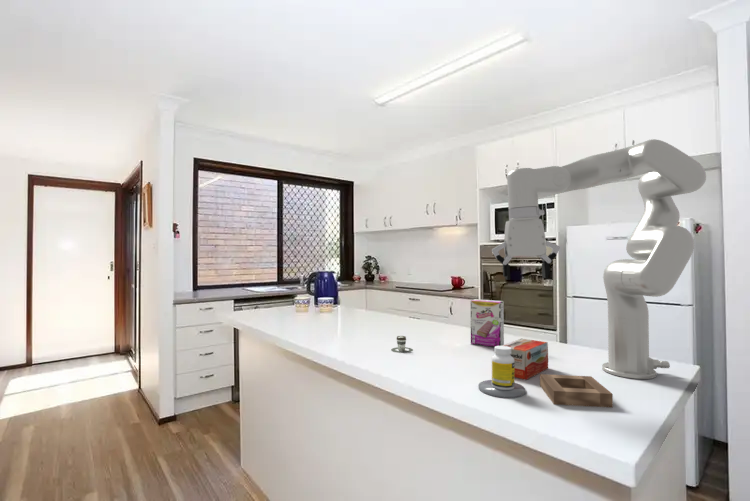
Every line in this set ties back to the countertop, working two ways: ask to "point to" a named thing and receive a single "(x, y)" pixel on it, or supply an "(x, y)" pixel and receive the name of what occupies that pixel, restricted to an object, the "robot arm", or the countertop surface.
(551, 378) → the pocket holder
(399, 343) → the sink strainer
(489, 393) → the coaster
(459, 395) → the countertop surface
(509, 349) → the supplement bottle
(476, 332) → the candy bar box
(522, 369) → the medicine box
